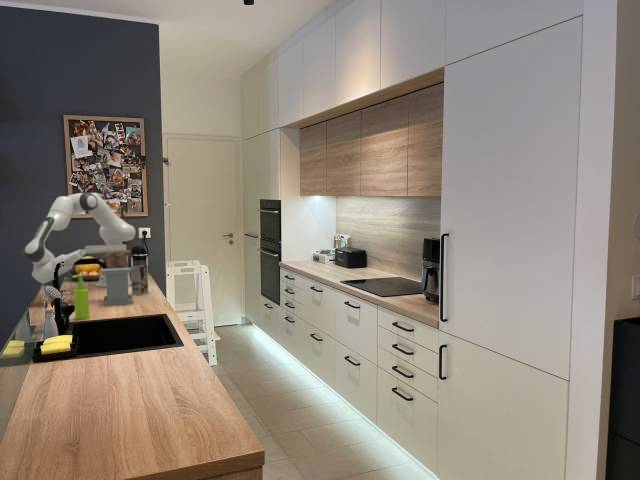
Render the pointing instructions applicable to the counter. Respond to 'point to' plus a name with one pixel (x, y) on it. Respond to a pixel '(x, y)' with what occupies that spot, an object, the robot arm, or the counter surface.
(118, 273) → the grey stand
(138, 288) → the coffee box
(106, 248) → the alu channel
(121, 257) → the walnut stand
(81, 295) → the soap dispenser
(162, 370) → the counter surface
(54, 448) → the counter surface
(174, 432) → the counter surface
